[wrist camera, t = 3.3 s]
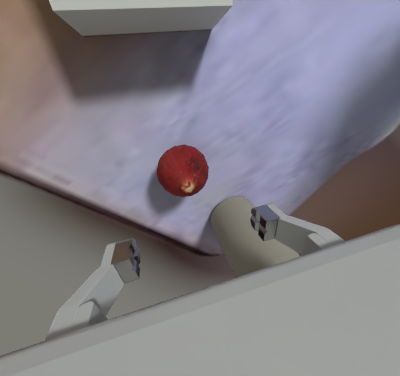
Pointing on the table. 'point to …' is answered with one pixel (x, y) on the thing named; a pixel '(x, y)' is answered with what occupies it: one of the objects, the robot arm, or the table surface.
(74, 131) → the table surface
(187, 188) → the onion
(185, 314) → the robot arm
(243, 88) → the table surface
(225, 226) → the travel mug
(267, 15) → the table surface
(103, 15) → the grey block
